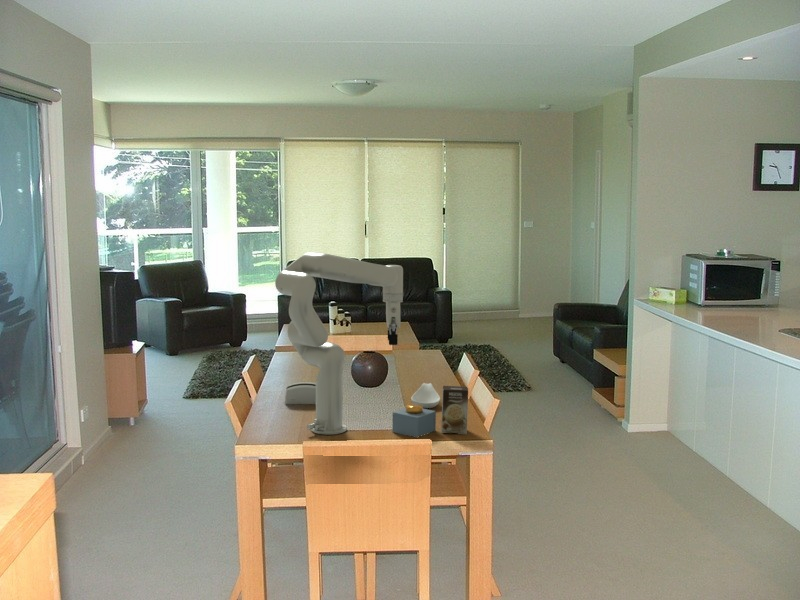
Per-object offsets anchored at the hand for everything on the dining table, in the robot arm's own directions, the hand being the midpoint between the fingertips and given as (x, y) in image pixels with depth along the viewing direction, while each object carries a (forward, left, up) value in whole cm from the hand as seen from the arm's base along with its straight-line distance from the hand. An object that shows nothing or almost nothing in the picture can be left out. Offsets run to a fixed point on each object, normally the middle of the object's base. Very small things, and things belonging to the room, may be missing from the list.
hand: (392, 342), depth 294 cm
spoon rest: (+23, +1, -29) cm, 37 cm away
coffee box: (-3, -31, -29) cm, 42 cm away
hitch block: (-12, -19, -28) cm, 36 cm away
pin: (-12, -19, -28) cm, 36 cm away
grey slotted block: (-8, +38, -29) cm, 48 cm away
